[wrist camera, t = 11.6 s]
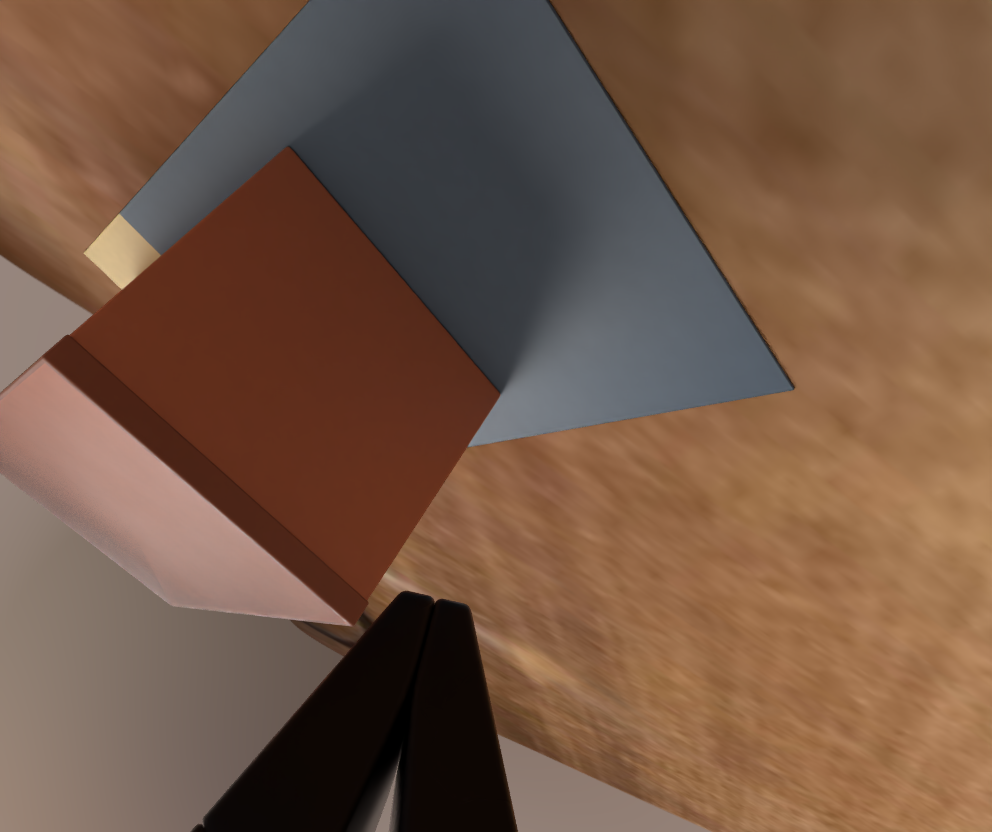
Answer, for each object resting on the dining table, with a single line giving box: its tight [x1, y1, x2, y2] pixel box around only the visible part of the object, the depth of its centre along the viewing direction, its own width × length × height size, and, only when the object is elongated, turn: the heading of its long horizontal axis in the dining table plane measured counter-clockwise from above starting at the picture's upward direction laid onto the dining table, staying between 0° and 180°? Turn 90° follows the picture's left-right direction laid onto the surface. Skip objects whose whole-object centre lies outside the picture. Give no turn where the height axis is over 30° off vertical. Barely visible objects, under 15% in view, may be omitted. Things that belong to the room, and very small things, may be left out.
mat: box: [84, 0, 794, 447], centre depth 26 cm, size 25×14×1 cm, turn 133°
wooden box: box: [0, 147, 501, 626], centre depth 27 cm, size 14×10×9 cm
